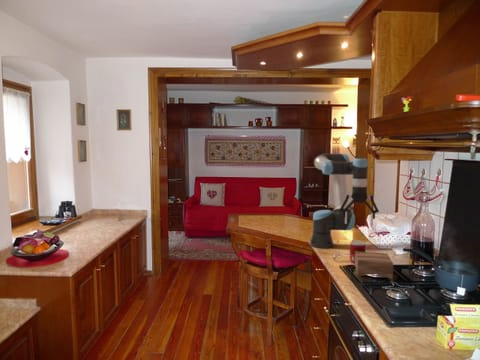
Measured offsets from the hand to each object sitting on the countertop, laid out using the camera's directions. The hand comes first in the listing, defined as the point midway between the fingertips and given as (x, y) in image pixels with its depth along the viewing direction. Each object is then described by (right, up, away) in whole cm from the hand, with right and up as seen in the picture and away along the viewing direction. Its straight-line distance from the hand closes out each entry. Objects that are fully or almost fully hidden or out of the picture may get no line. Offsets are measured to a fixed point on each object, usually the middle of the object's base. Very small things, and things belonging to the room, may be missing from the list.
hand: (358, 224), depth 178 cm
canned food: (0, -22, +2) cm, 22 cm away
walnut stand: (+2, -23, -14) cm, 27 cm away
